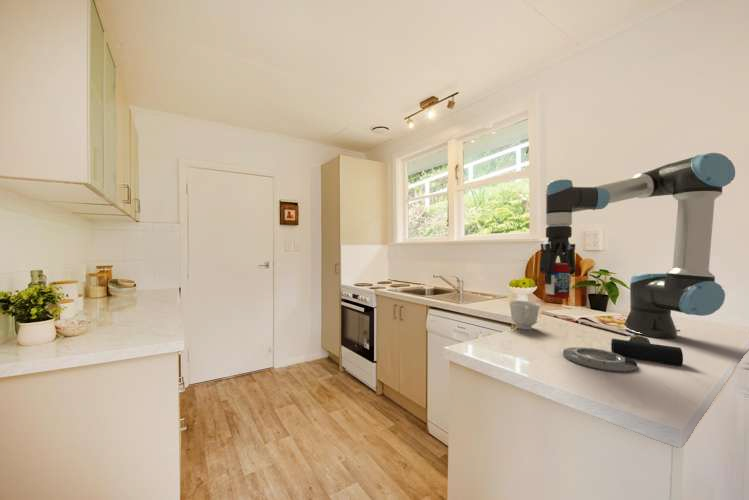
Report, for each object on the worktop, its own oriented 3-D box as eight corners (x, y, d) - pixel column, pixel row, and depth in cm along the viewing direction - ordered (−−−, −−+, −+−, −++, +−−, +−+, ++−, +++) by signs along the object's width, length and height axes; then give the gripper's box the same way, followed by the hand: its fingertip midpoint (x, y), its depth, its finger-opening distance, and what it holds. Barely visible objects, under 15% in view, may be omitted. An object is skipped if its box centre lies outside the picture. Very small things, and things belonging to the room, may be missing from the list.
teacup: (510, 331, 116) (510, 305, 116) (506, 323, 130) (506, 299, 130) (545, 335, 112) (545, 308, 112) (537, 325, 126) (537, 301, 126)
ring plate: (587, 348, 98) (587, 342, 98) (651, 367, 82) (651, 361, 82) (549, 354, 91) (550, 348, 91) (611, 376, 76) (611, 369, 76)
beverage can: (554, 299, 99) (554, 263, 99) (542, 296, 106) (542, 262, 106) (574, 299, 100) (574, 263, 99) (560, 296, 106) (561, 262, 106)
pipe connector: (608, 331, 100) (670, 338, 92) (608, 346, 100) (670, 356, 92) (613, 340, 90) (683, 350, 82) (613, 358, 90) (682, 369, 82)
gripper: (568, 227, 110) (567, 290, 110) (527, 225, 103) (526, 293, 103) (589, 226, 103) (588, 293, 103) (547, 224, 96) (546, 296, 96)
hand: (557, 293), depth 103 cm, fingers closed on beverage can, 7 cm apart
